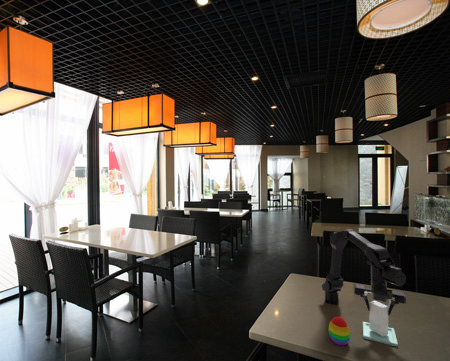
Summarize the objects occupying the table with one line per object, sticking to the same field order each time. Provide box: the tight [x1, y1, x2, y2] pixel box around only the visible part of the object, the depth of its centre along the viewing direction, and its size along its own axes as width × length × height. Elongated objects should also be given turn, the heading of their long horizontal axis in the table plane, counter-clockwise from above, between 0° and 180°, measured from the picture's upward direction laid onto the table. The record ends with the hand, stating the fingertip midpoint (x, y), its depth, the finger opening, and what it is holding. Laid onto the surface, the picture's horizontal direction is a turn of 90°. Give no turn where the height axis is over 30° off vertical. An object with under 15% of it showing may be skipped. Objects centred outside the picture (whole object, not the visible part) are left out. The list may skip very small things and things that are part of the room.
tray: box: [362, 321, 399, 348], centre depth 108 cm, size 12×12×1 cm
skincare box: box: [368, 300, 389, 336], centre depth 108 cm, size 6×4×12 cm
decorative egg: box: [328, 316, 351, 346], centre depth 103 cm, size 8×8×10 cm
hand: (378, 312), depth 108 cm, fingers closed on skincare box, 7 cm apart
